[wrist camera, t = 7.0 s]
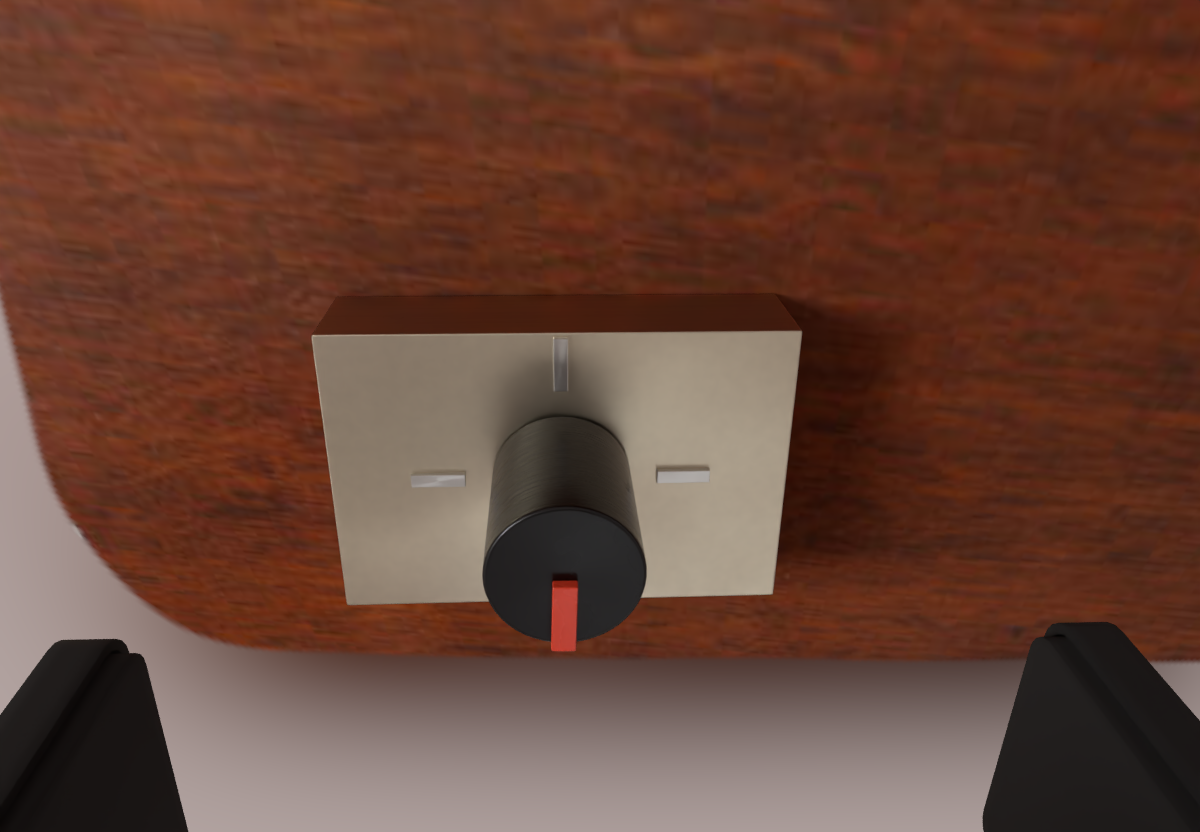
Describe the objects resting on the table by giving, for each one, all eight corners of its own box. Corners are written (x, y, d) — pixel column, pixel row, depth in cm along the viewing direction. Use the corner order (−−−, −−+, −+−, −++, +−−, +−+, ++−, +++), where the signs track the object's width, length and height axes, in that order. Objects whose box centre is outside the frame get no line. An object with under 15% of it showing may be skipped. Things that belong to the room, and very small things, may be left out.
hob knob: (491, 414, 23) (479, 514, 19) (633, 416, 23) (653, 515, 19) (493, 535, 25) (482, 653, 20) (626, 535, 25) (644, 652, 21)
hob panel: (365, 545, 28) (345, 609, 25) (336, 295, 25) (308, 337, 22) (751, 537, 29) (774, 598, 26) (775, 293, 25) (804, 332, 22)
